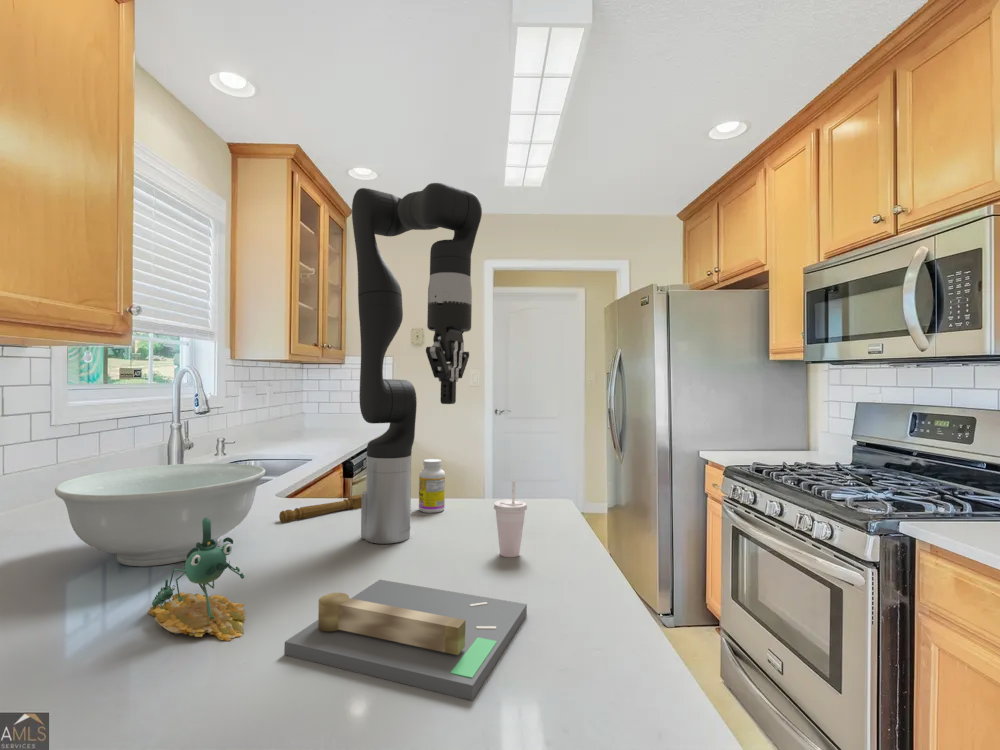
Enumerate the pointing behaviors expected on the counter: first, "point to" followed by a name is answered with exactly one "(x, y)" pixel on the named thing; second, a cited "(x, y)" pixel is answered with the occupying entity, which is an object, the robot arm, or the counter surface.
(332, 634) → the dial plate
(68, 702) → the counter surface
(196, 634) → the green cartoon bug figurine
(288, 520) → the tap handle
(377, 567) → the counter surface
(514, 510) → the smoothie
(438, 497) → the supplement bottle
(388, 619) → the dial lever
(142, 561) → the bowl
